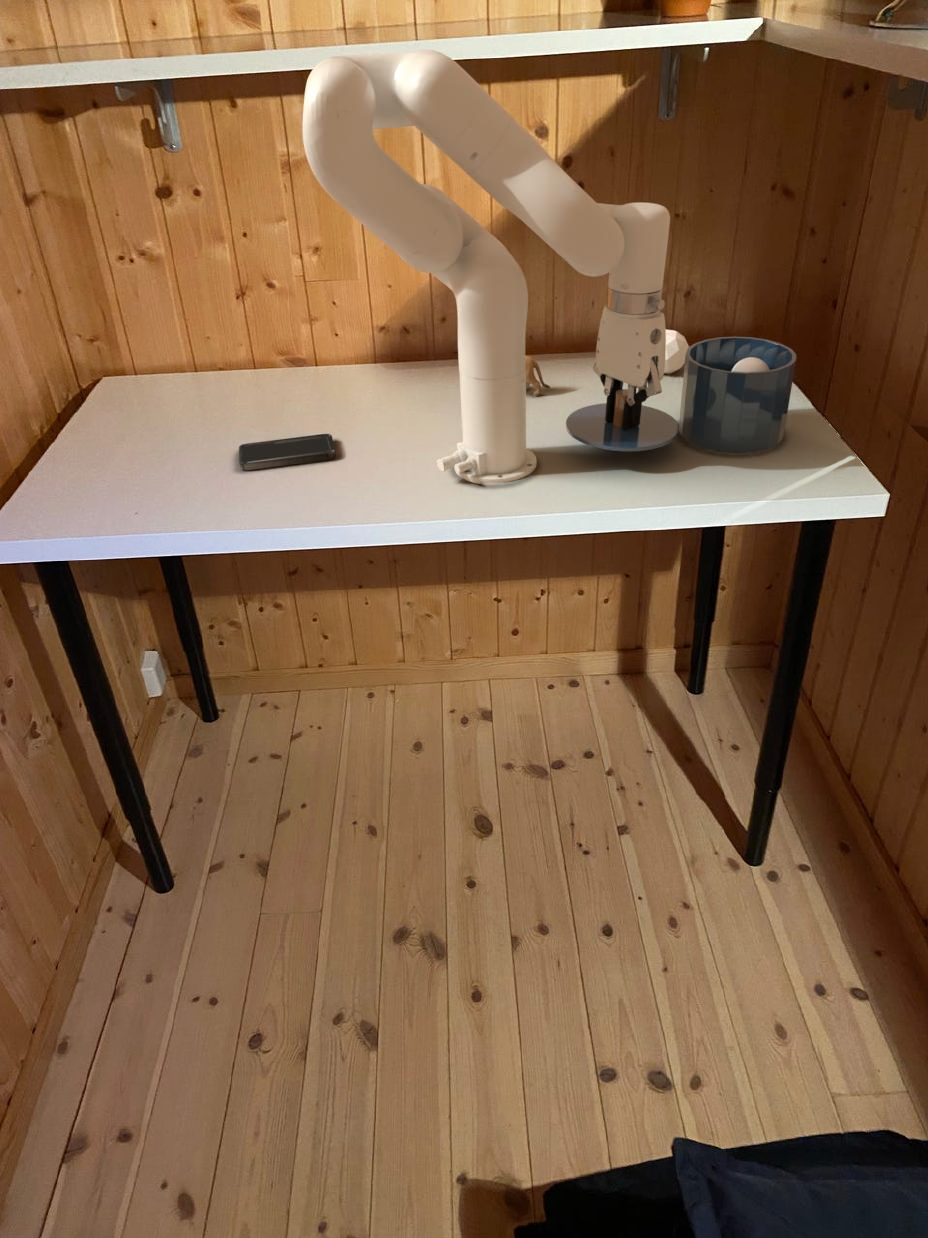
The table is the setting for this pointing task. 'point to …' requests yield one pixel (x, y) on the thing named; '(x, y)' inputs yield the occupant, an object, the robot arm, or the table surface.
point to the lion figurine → (530, 376)
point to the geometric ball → (674, 351)
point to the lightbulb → (750, 365)
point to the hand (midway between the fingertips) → (622, 422)
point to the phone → (286, 451)
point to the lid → (611, 436)
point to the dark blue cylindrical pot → (735, 395)
